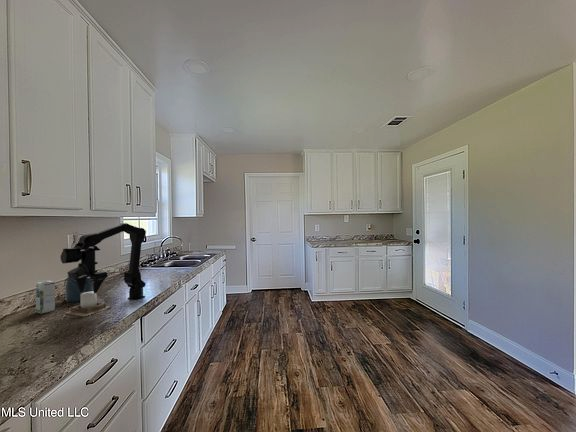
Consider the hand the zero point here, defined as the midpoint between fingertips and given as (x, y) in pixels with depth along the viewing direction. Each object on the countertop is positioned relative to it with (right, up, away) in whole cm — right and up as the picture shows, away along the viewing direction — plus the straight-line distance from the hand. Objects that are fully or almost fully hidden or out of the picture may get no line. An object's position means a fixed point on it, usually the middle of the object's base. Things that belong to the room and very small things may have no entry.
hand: (88, 292), depth 136 cm
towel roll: (0, -8, 0) cm, 8 cm away
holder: (0, -9, 0) cm, 9 cm away
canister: (-20, -10, +21) cm, 30 cm away
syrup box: (-21, -9, 0) cm, 23 cm away
